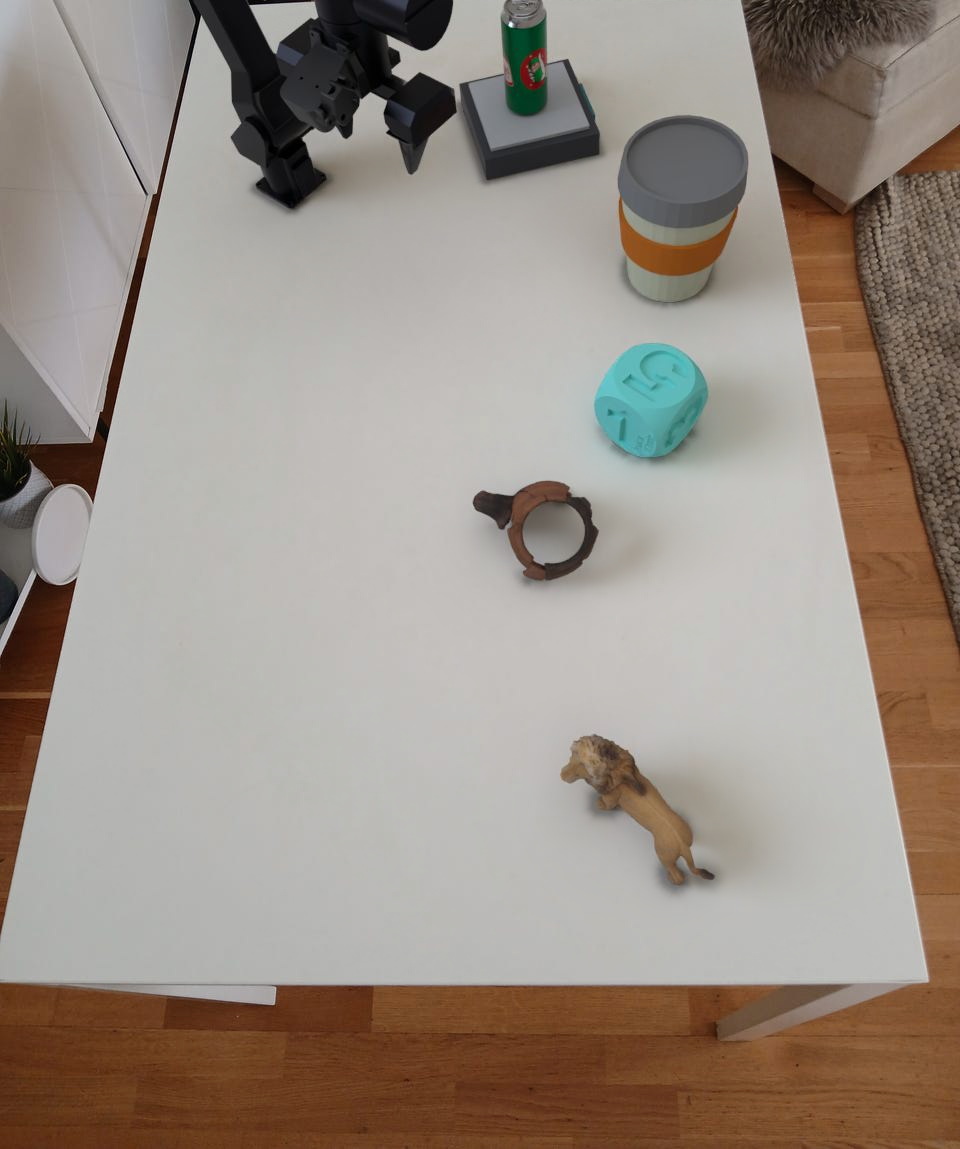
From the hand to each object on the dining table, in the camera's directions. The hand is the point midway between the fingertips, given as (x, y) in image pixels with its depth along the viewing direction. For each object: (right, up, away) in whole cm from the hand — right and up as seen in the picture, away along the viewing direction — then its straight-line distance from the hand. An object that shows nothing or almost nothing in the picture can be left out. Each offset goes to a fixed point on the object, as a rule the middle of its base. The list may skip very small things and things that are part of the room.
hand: (380, 154), depth 94 cm
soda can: (+16, +13, +15) cm, 26 cm away
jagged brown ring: (+16, -40, -6) cm, 43 cm away
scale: (+16, +12, +18) cm, 27 cm away
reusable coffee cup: (+31, -10, +7) cm, 34 cm away
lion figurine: (+23, -64, -18) cm, 70 cm away
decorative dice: (+27, -28, -1) cm, 39 cm away
